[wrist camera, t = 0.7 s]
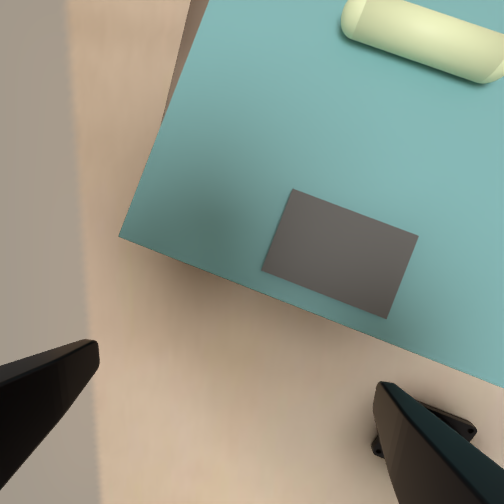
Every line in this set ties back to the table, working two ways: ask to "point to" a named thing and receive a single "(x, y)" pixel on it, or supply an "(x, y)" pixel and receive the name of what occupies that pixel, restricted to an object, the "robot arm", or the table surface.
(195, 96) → the plate
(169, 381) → the table surface
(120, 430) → the table surface
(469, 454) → the robot arm
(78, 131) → the table surface
